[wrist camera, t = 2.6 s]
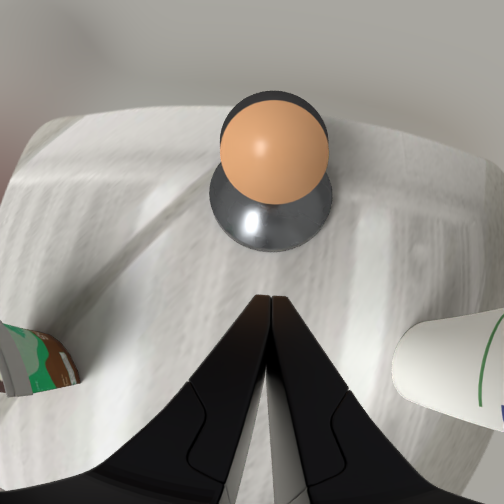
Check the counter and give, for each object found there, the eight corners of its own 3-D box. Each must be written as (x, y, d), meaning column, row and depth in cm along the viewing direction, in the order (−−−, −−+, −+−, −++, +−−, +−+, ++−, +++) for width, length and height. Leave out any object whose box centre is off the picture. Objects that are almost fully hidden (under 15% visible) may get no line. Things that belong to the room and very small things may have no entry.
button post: (330, 256, 22) (365, 216, 14) (203, 248, 23) (177, 204, 15) (326, 151, 25) (346, 88, 17) (219, 144, 25) (206, 80, 18)
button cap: (318, 217, 18) (340, 169, 12) (222, 211, 18) (208, 161, 13) (315, 145, 19) (330, 89, 14) (232, 140, 20) (224, 82, 14)
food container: (82, 312, 21) (0, 294, 12) (93, 382, 20) (12, 397, 10) (3, 325, 21) (-66, 312, 11) (10, 381, 19) (-58, 383, 9)
